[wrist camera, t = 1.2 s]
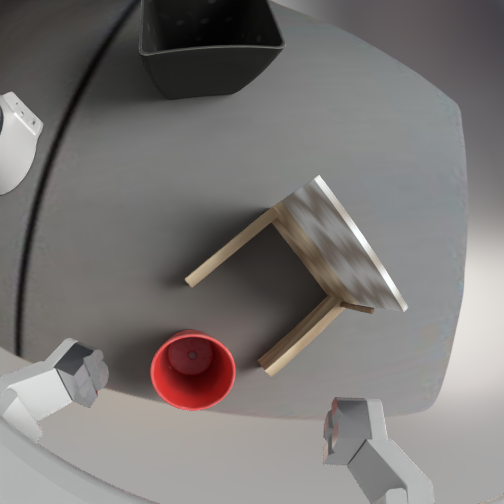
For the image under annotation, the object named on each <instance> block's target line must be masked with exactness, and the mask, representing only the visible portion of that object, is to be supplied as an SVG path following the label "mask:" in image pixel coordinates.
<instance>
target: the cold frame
mask: <svg viewBox="0 0 504 504" xmlns="http://www.w3.org/2000/svg"><path fill="white" fill-rule="evenodd" d="M270 223H272V224H273V225H274V226H275V228H276V229H277V230H278V232H279V233H280V234H281V235H282V237H283V238H284V239H285V240H286V242H287V243H288V244H289V246H290V247H291V248H292V250H293V251H294V252H295V253H296V255H297V256H298V257H299V259H300V260H301V261H302V262H303V264H304V265H305V266H306V268H307V269H308V270H309V272H310V273H311V274H312V276H313V277H314V278H315V280H316V281H317V282H318V284H319V285H320V286H321V287H322V289H323V290H324V291H325V293H326V294H327V295H328V296H327V297H326V298H325V299H324V300H323V301H322V302H321V303H320V304H319V305H318V306H317V307H316V308H315V309H314V310H313V311H311V312H310V313H309V314H308V315H307V316H306V317H305V318H304V319H303V320H302V321H301V322H300V323H299V324H298V325H297V326H295V327H294V328H293V329H292V330H291V331H290V332H289V333H288V334H287V335H286V336H285V337H283V338H282V339H281V340H280V341H279V342H278V343H277V344H276V345H274V346H273V347H272V348H271V349H270V350H269V351H268V352H267V353H265V354H264V355H263V356H262V357H261V358H260V359H258V360H257V361H258V362H259V364H260V365H261V366H262V367H263V368H264V370H265V371H266V372H267V373H268V374H269V375H270V376H271V377H272V376H273V375H274V374H276V373H277V372H278V371H279V370H280V369H281V368H282V367H284V366H285V365H286V364H287V363H288V362H289V361H290V360H291V359H292V358H294V357H295V356H296V355H297V354H298V353H299V352H300V351H301V350H302V349H303V348H304V347H306V346H307V345H308V344H309V343H310V342H311V341H312V340H313V339H314V338H315V337H316V336H317V335H318V334H319V333H320V332H321V331H322V330H323V329H324V328H325V327H326V326H327V325H328V324H329V323H330V322H331V321H332V320H333V319H334V318H335V317H336V316H337V315H338V314H339V313H340V312H341V311H342V310H343V309H344V308H348V309H352V310H357V311H361V312H366V313H370V314H372V313H374V308H371V307H366V306H361V305H356V304H362V305H367V306H373V307H378V308H384V309H389V310H395V311H401V312H405V311H406V309H407V308H408V307H407V305H406V303H405V301H404V300H403V298H402V296H401V295H400V293H399V291H398V290H397V288H396V286H395V285H394V283H393V281H392V280H391V278H390V277H389V275H388V273H387V272H386V270H385V269H384V267H383V265H382V264H381V262H380V261H379V259H378V258H377V256H376V255H375V253H374V252H373V250H372V248H371V247H370V245H369V244H368V242H367V241H366V240H365V238H364V237H363V235H362V234H361V232H360V231H359V229H358V228H357V226H356V225H355V223H354V222H353V221H352V219H351V218H350V216H349V215H348V214H347V212H346V211H345V209H344V208H343V207H342V205H341V204H340V202H339V201H338V200H337V198H336V197H335V196H334V194H333V193H332V192H331V190H330V189H329V188H328V186H327V185H326V184H325V182H324V181H323V180H322V178H321V177H320V176H318V177H316V178H314V179H313V180H311V181H310V182H308V183H307V184H305V185H304V186H302V187H301V188H299V189H298V190H296V191H295V192H293V193H292V194H290V195H289V196H287V197H286V198H284V199H283V200H282V201H280V202H279V203H277V204H276V205H274V206H273V207H271V208H270V209H269V210H267V211H266V212H265V213H264V214H262V215H261V216H260V217H259V218H257V219H256V220H255V221H254V222H252V223H251V224H250V225H249V226H247V227H246V228H245V229H244V230H243V231H241V232H240V233H239V234H238V235H236V236H235V237H234V238H233V239H231V240H230V241H229V242H228V243H227V244H225V245H224V246H223V247H222V248H220V249H219V250H218V251H217V252H216V253H214V254H213V255H212V256H211V257H210V258H208V259H207V260H206V261H205V262H203V263H202V264H201V265H200V266H199V267H197V268H196V269H195V270H194V271H193V272H191V273H190V274H189V275H188V276H187V277H185V280H186V282H187V283H188V284H189V285H190V286H191V288H192V287H194V286H195V285H196V284H197V283H198V282H200V281H201V280H202V279H203V278H204V277H206V276H207V275H208V274H209V273H210V272H212V271H213V270H214V269H215V268H216V267H218V266H219V265H220V264H221V263H222V262H224V261H225V260H226V259H227V258H228V257H230V256H231V255H232V254H233V253H234V252H236V251H237V250H238V249H239V248H241V247H242V246H243V245H244V244H245V243H247V242H248V241H249V240H250V239H251V238H253V237H254V236H255V235H256V234H257V233H259V232H260V231H261V230H262V229H264V228H265V227H266V226H267V225H268V224H270Z"/></svg>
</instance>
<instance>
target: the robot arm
mask: <svg viewBox="0 0 504 504" xmlns="http://www.w3.org/2000/svg"><path fill="white" fill-rule="evenodd" d="M34 123H35V124H34ZM33 124H34V125H33ZM42 128H43V123H42V121H41V120H40V119H39V118H38V117H37V116H36V115H35V114H34V113H33V112H32V111H31V110H30V109H29V108H28V107H27V106H26V105H25V104H24V103H23V102H22V101H21V100H20V99H19V98H18V97H17V96H16V95H15V94H14V93H13V92H9V93H7V94H5V95H3V96H1V95H0V195H2V194H5V193H8V192H9V191H11V190H12V189H14V188H15V187H16V186H17V185H18V184H19V183H20V182H21V181H22V179H23V178H24V177H25V175H26V174H27V172H28V170H29V168H30V166H31V164H32V161H33V158H34V155H35V150H36V143H37V139H38V137H39V135H40V133H41V131H42ZM103 358H104V356H103V353H102V351H101V350H99V349H96V348H94V347H91V346H89V345H86V344H84V343H81V342H79V341H76V340H74V339H71V338H68V339H65V340H64V341H63V342H62V343H61V345H60V346H59V347H58V348H57V349H56V350H55V351H54V352H53V353H52V354H51V355H50V356H49V357H48V358H47V359H46V360H45V362H42V361H40V362H38V363H35V364H32V365H30V366H27V367H24V368H21V369H18V370H16V371H13V372H10V373H7V374H4V375H1V376H0V504H159V503H156V502H154V501H150V500H148V499H145V498H143V497H140V496H137V495H135V494H132V493H130V492H127V491H125V490H123V489H120V488H118V487H116V486H114V485H111V484H109V483H107V482H105V481H103V480H101V479H98V478H96V477H95V476H93V475H91V474H89V473H87V472H85V471H83V470H81V469H79V468H77V467H76V466H74V465H72V464H70V463H69V462H67V461H65V460H63V459H62V458H60V457H58V456H57V455H55V454H53V453H52V452H50V451H49V450H47V449H46V448H44V447H43V446H41V445H40V444H38V443H37V442H38V440H39V439H40V437H41V436H42V434H43V429H42V428H41V426H40V425H39V424H38V422H37V421H39V420H41V419H43V418H45V417H46V416H48V415H50V414H52V413H54V412H55V411H57V410H59V409H61V408H62V407H64V406H66V405H68V404H70V403H71V402H72V401H75V402H77V403H79V404H81V405H83V406H86V407H88V408H90V407H91V405H92V404H93V402H94V401H95V399H96V398H97V396H98V395H97V391H98V390H100V389H102V388H104V386H105V385H106V383H107V380H108V377H109V370H108V367H107V365H106V364H105V363H104V362H103ZM323 437H324V438H325V440H326V441H327V442H326V443H325V445H324V447H323V464H330V465H348V466H347V467H348V469H349V470H350V472H351V473H352V475H353V476H354V478H355V480H356V481H357V483H358V484H359V486H360V487H361V489H362V490H363V492H364V494H365V495H366V497H367V498H368V500H369V501H370V503H371V504H435V500H434V493H433V486H432V482H431V481H430V480H429V479H428V478H427V477H426V476H425V475H424V473H422V471H421V470H420V469H419V468H418V467H417V466H416V465H415V464H414V463H413V462H412V461H411V460H410V459H409V457H408V456H407V455H406V454H405V453H404V452H403V451H402V450H401V449H400V448H399V447H398V445H396V443H395V442H394V441H393V440H392V439H387V433H386V426H385V420H384V414H383V408H382V402H381V400H380V399H364V398H340V397H335V398H334V400H333V402H332V410H331V411H329V412H328V414H327V416H326V420H325V424H324V435H323ZM479 504H504V494H502V495H499V496H497V497H494V498H492V499H489V500H487V501H484V502H482V503H479Z"/></svg>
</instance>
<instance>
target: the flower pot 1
mask: <svg viewBox="0 0 504 504" xmlns="http://www.w3.org/2000/svg"><path fill="white" fill-rule="evenodd" d="M284 47H285V41H284V38H283V35H282V33H281V30H280V28H279V25H278V23H277V20H276V18H275V15H274V13H273V11H272V8H271V6H270V3H269V1H268V0H141V12H140V29H139V54H140V57H141V60H142V62H143V64H144V67H145V69H146V71H147V73H148V75H149V77H150V78H151V80H152V82H153V83H154V85H155V86H156V87H157V88H158V90H159V91H160V92H161V93H162V94H163V95H164V96H165V97H166V98H168V99H179V98H187V97H197V96H207V95H220V94H234V93H236V92H238V91H239V90H241V89H242V88H244V87H245V86H246V85H248V84H249V83H250V82H252V81H253V80H254V79H255V78H256V77H257V76H259V75H260V74H261V73H262V72H263V71H264V70H265V69H266V68H267V67H268V66H269V65H270V64H271V62H272V61H273V60H274V59H275V58H276V57H277V56H278V54H279V53H280V52H281V51H282V50H283V48H284Z"/></svg>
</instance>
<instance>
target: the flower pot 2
mask: <svg viewBox="0 0 504 504" xmlns="http://www.w3.org/2000/svg"><path fill="white" fill-rule="evenodd" d="M150 376H151V381H152V384H153V387H154V389H155V390H156V392H157V394H158V395H159V396H160V397H161V398H162V399H163V400H164V401H165V402H167V403H168V404H170V405H172V406H174V407H176V408H179V409H183V410H189V411H195V410H203V409H206V408H209V407H211V406H213V405H215V404H217V403H219V402H220V401H221V400H222V399H224V397H225V396H226V395H227V394H228V393H229V391H230V390H231V388H232V386H233V383H234V380H235V363H234V359H233V357H232V355H231V353H230V352H229V350H228V349H227V348H226V347H225V346H224V345H223V344H222V343H221V342H219V341H218V340H216V339H214V338H212V337H211V336H209V335H207V334H205V333H203V332H200V331H197V330H183V331H180V332H178V333H176V334H174V335H173V336H172V337H170V338H169V339H168V340H167V341H166V342H165V343H164V344H163V345H162V346H161V347H160V348H159V349H158V350H157V352H156V353H155V355H154V357H153V360H152V363H151V367H150Z"/></svg>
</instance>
